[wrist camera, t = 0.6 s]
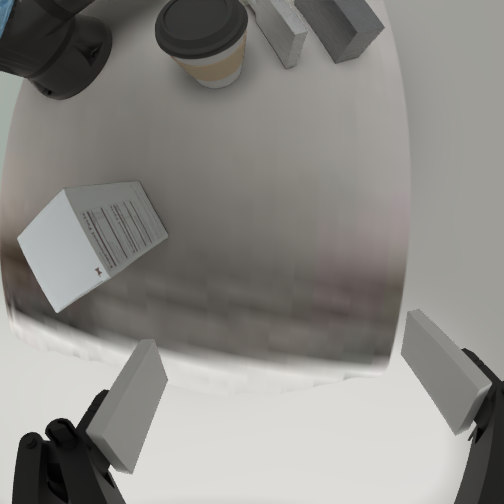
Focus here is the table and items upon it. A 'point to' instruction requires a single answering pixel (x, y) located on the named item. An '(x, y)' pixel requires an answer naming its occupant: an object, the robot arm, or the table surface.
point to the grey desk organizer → (340, 25)
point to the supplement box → (89, 238)
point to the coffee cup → (204, 38)
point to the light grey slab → (280, 28)
